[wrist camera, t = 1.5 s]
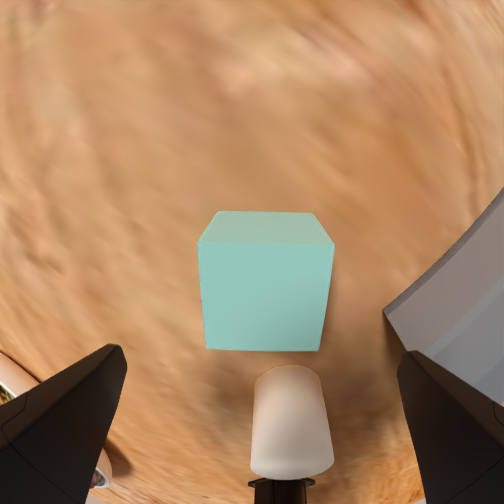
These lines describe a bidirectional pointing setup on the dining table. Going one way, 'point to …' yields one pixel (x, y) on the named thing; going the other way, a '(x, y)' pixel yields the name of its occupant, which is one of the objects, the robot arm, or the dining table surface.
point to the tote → (461, 307)
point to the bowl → (19, 381)
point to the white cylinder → (290, 425)
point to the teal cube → (264, 280)
